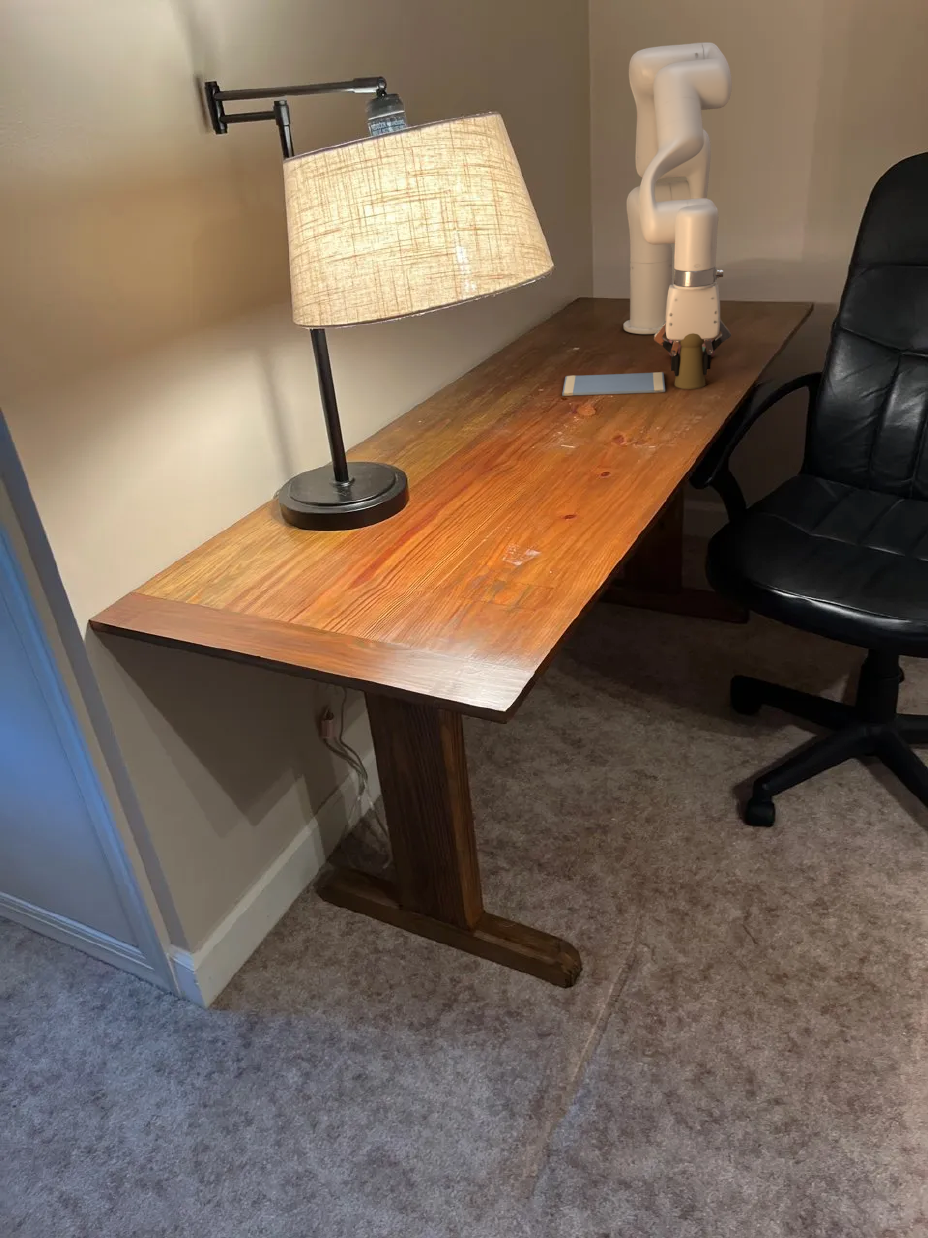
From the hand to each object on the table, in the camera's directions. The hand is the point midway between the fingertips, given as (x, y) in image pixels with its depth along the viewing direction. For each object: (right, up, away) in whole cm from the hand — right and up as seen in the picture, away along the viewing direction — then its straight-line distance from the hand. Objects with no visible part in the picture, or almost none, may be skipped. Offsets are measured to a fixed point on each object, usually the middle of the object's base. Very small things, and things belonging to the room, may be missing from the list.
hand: (690, 372), depth 184 cm
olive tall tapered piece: (0, -2, +1) cm, 2 cm away
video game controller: (+4, +7, +15) cm, 17 cm away
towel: (-14, -1, +5) cm, 15 cm away
